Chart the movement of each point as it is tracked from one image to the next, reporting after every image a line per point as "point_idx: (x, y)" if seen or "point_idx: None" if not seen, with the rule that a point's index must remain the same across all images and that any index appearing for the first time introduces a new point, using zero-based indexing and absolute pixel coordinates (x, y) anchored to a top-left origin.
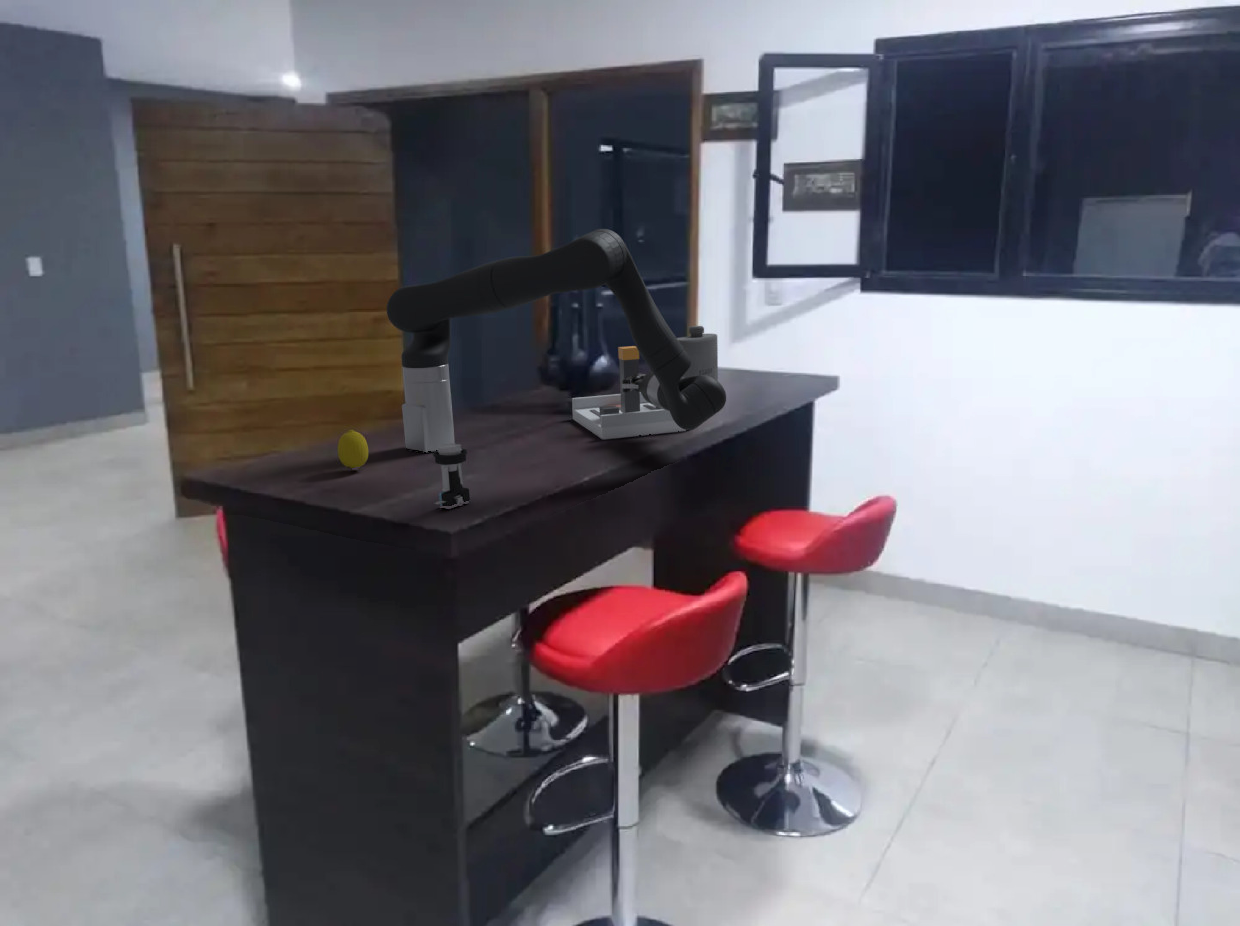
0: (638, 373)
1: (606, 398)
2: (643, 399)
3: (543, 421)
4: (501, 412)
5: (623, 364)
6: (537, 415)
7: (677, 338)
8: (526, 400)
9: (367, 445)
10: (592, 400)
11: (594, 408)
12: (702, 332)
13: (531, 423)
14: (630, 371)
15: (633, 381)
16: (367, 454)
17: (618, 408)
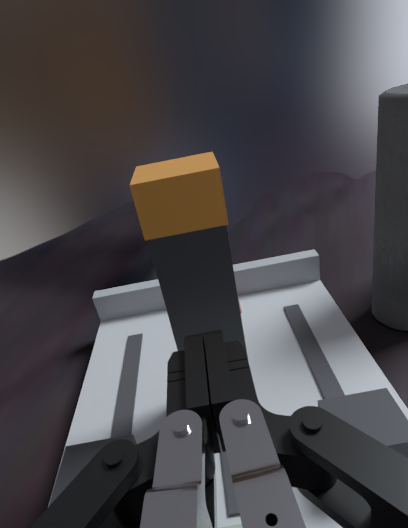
0: (202, 348)
1: None
2: (288, 277)
3: (44, 341)
4: (30, 275)
5: (152, 257)
6: (67, 298)
7: (404, 86)
8: (111, 225)
9: None
10: (146, 295)
11: (151, 317)
12: None
13: (10, 354)
14: (192, 283)
15: (118, 505)
16: None
17: None
